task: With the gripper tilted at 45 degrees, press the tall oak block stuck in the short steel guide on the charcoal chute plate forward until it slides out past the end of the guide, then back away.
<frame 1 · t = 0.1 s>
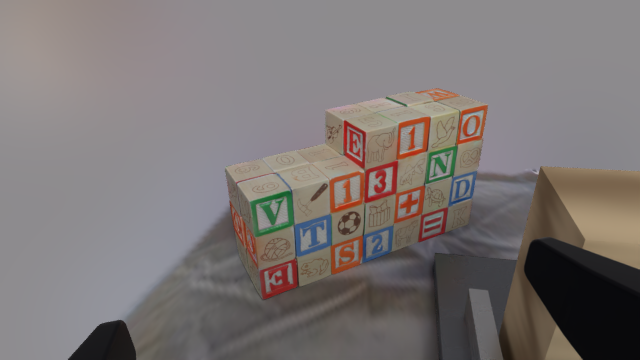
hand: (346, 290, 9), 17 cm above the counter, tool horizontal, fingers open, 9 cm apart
oak block: (597, 308, 19), point 8 cm above the counter, slide at 0.0 cm
stack of blocks: (359, 242, 38), on the counter
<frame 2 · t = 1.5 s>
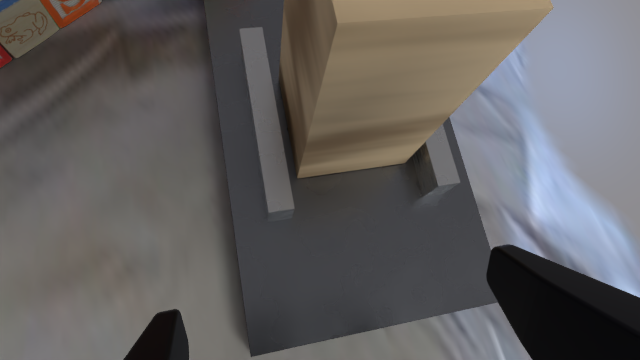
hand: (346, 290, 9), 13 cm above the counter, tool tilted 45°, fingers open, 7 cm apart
chute: (338, 147, 24), on the counter
oak block: (367, 55, 17), point 8 cm above the counter, slide at 0.0 cm
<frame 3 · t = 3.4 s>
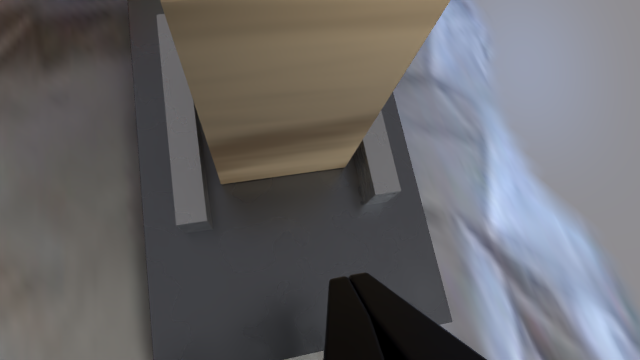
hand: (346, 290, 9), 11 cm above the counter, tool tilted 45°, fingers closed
chute: (276, 149, 21), on the counter
oak block: (281, 46, 14), point 8 cm above the counter, slide at 0.0 cm
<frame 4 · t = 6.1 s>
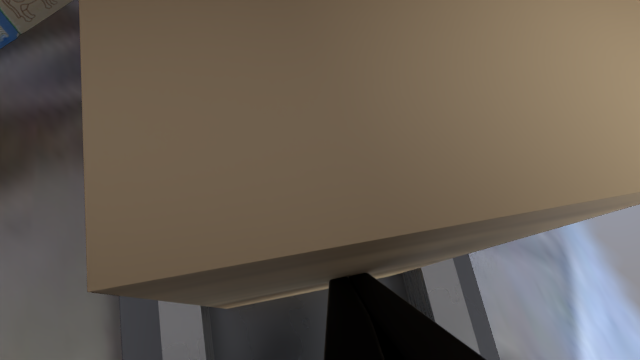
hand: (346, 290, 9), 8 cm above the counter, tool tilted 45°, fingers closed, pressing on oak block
chute: (303, 283, 16), on the counter
oak block: (316, 155, 10), point 8 cm above the counter, slide at 1.6 cm, touching gripper
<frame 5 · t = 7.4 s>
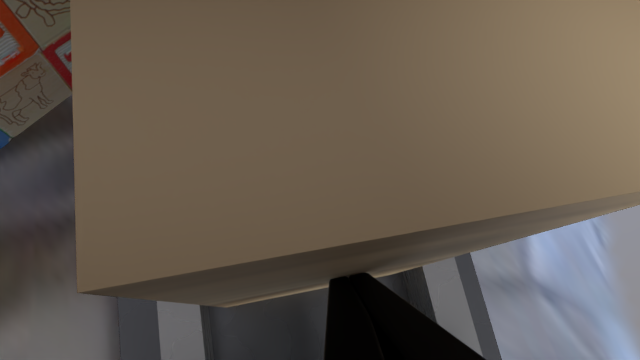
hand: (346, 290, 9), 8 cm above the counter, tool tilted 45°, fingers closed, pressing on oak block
oak block: (316, 152, 10), point 8 cm above the counter, slide at 6.7 cm, touching gripper
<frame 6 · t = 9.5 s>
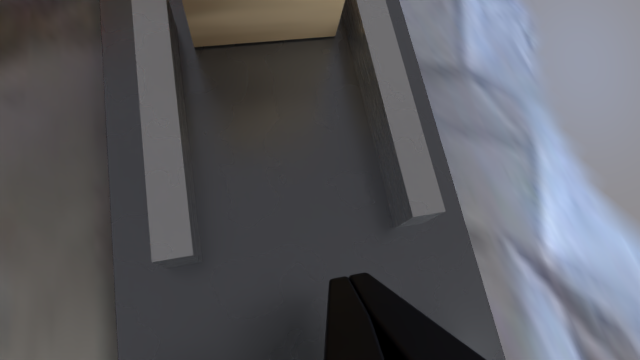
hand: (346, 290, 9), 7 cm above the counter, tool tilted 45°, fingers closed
chute: (282, 157, 17), on the counter
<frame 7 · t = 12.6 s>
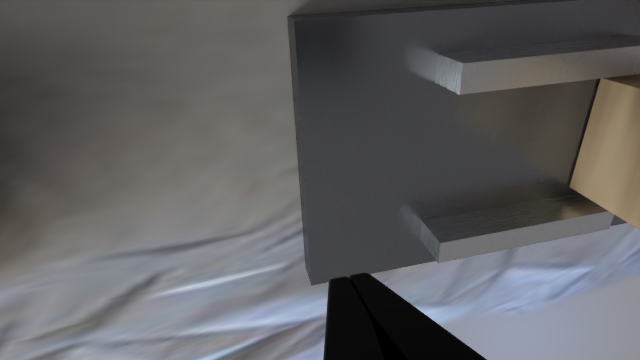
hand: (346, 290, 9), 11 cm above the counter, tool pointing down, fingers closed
chute: (484, 135, 21), on the counter
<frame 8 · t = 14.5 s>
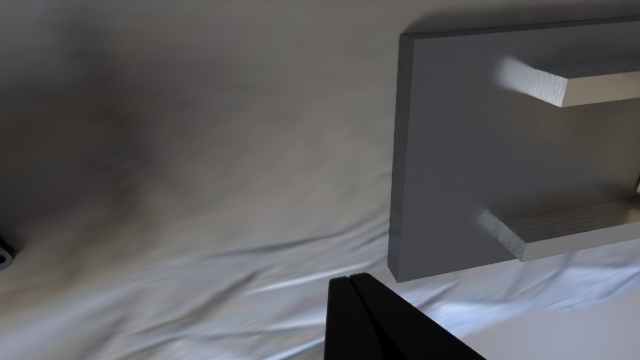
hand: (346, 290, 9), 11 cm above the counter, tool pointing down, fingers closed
chute: (559, 143, 23), on the counter
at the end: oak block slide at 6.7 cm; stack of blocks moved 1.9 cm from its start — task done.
